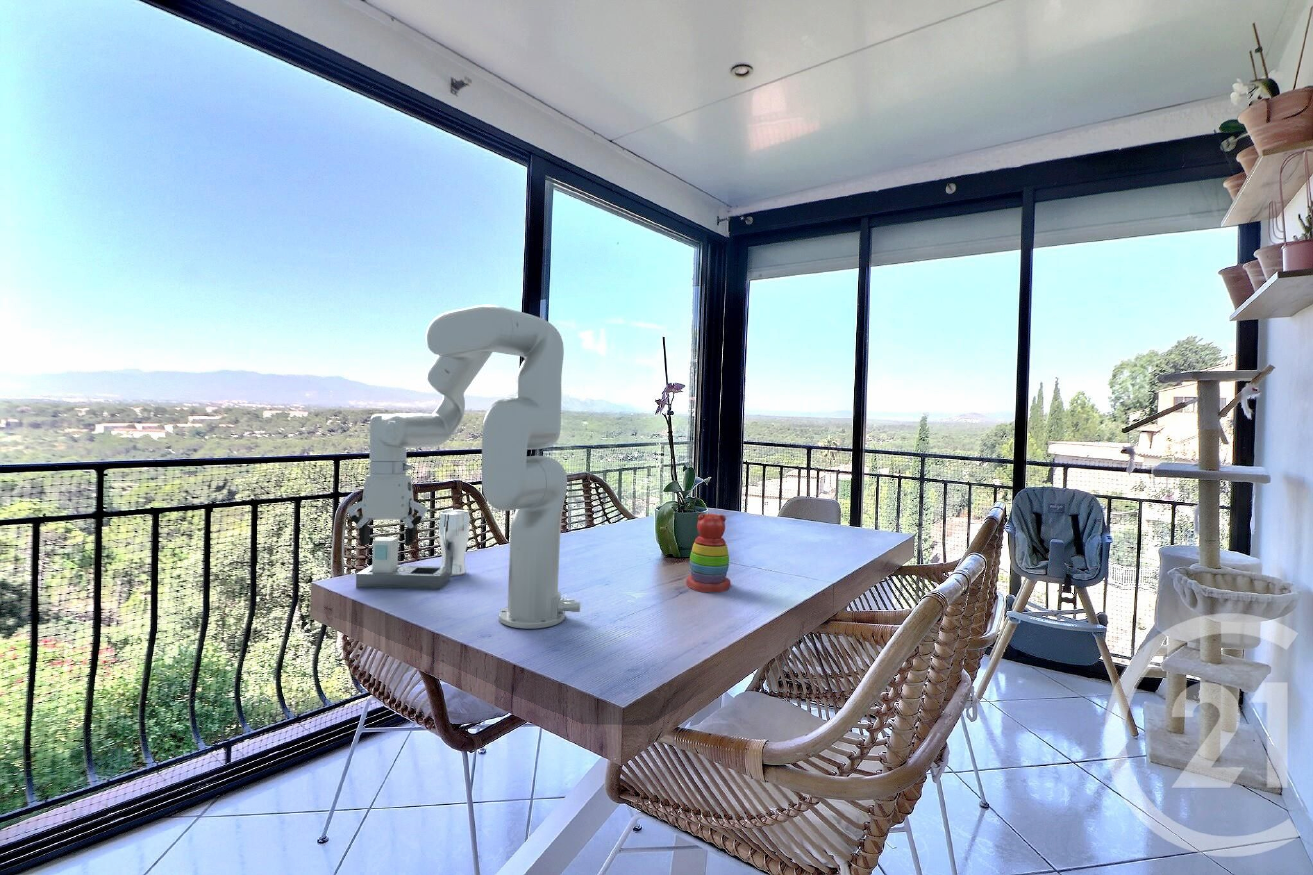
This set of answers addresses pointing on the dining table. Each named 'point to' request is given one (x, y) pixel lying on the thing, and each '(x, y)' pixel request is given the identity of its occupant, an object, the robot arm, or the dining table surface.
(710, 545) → the stacking bear
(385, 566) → the plug
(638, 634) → the dining table surface
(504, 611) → the robot arm
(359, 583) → the panel
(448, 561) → the beer glass
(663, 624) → the dining table surface
